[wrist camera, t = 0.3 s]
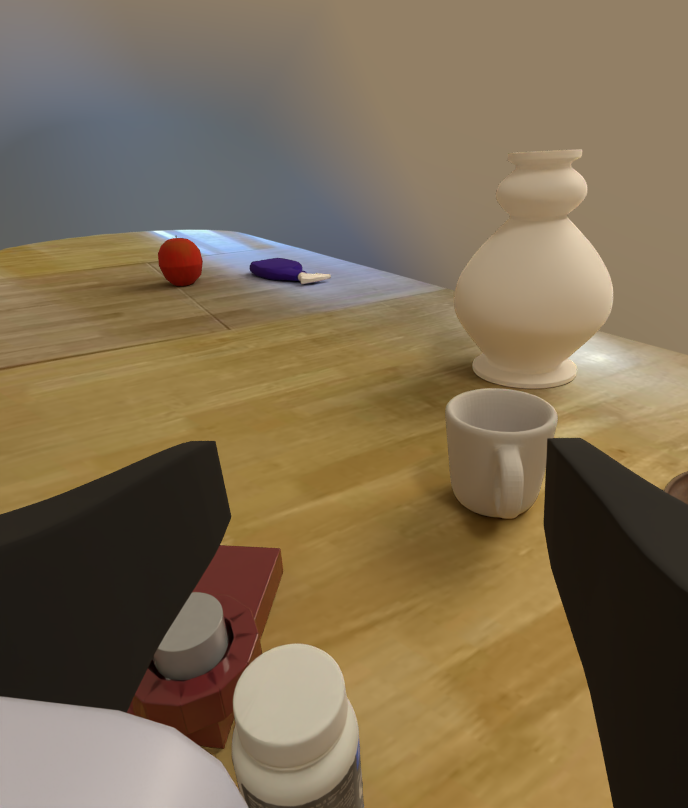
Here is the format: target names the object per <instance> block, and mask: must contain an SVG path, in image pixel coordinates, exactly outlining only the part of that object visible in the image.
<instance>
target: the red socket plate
mask: <svg viewBox="0 0 688 808" xmlns="http://www.w3.org/2000/svg"><path fill="white" fill-rule="evenodd" d="M282 574H283V565H282V557H281V549H280V548H263V547H244V546H224V545H219V548H218V550H217V552H216V554H215V556H214V557H213V559H212V561H211V563H210V564H209V566H208V567H207V569H206V571H205V572H204V574H203V576H202V577H201V579H200V581H199V582H198V584H197V585H196V587H195V589H194V590H193V592H200V593H206V594H209V595H211V596H213V597H215V598H216V599H217V600H218V601H219V602H220V604H221V606H222V609H223V614H224V619H225V624H226V629H227V634H228V647H227V650H226V652H225V655H224V656H223V658H222V659H221V661H220V662H219V663H218V664H217V665H216V666H215V667H214V668H213V669H211V670H210V671H209V672H207V673H205V674H203V675H200V676H197V677H195V678H192V679H189V680H182V681H180V680H171V679H168V678H166V677H164V676H163V675H161V674H160V673H159V672H158V671H157V669H156V667H155V664H154V661H153V658H152V660H151V662H150V665H149V667H148V669H147V671H146V673H145V675H144V677H143V679H142V681H141V683H140V685H139V687H138V689H137V691H136V693H135V695H134V697H133V700H132V702H131V704H130V706H129V709H128V711H127V713H128V714H132V715H135V716H138V717H141V718H144V719H148V720H151V721H154V722H157V723H161V724H164V725H167V726H170V727H173V728H175V729H176V730H178V731H179V732H181V733H182V734H183V735H185V736H186V737H188V738H189V739H190V740H192V741H193V742H194V743H196V744H197V745H199V746H205V747H214V748H224V746H225V743H226V740H227V737H228V734H229V731H230V728H231V725H232V722H233V719H234V712H233V696H234V691H235V688H236V684H237V682H238V680H239V678H240V676H241V675H242V673H243V672H244V670H245V669H246V668H247V667H248V666H249V665H250V663H251V662H253V661H254V660H255V659H256V658H257V657H258V656H260V655H261V654H262V650H261V644H260V639H261V636H262V633H263V630H264V627H265V624H266V621H267V618H268V615H269V612H270V609H271V606H272V603H273V600H274V597H275V594H276V591H277V589H278V586H279V583H280V580H281V577H282Z"/></svg>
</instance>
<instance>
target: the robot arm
mask: <svg viewBox="0 0 688 808" xmlns="http://www.w3.org/2000/svg"><path fill="white" fill-rule="evenodd" d="M230 519H231V513H230V508H229V503H228V499H227V494H226V489H225V485H224V480H223V475H222V470H221V466H220V461H219V456H218V452H217V447H216V442H215V441H190V442H186V443H182V444H179V445H176V446H174V447H171V448H168V449H166V450H163V451H161V452H159V453H156V454H154V455H152V456H149V457H147V458H145V459H142V460H140V461H138V462H136V463H133V464H131V465H129V466H127V467H124V468H122V469H120V470H118V471H115V472H113V473H111V474H109V475H106V476H104V477H101V478H99V479H96V480H94V481H92V482H89V483H87V484H84V485H82V486H80V487H77V488H75V489H72V490H70V491H68V492H65V493H62V494H60V495H57V496H55V497H52V498H49V499H46V500H43V501H41V502H38V503H35V504H32V505H29V506H26V507H23V508H20V509H17V510H14V511H11V512H7V513H4V514H1V515H0V808H248V806H247V804H246V802H245V800H244V798H243V797H242V795H241V793H240V792H239V790H238V788H237V787H236V785H235V783H234V782H233V780H232V779H231V777H230V775H229V774H228V772H227V770H226V769H225V767H224V765H223V764H222V762H221V761H219V760H218V759H216V758H215V757H214V756H212V755H211V754H210V753H208V752H207V751H205V750H204V749H203V748H201V747H200V746H199V745H197V744H196V743H194V742H193V741H192V740H190V739H189V738H188V737H186V736H185V735H183V734H182V733H181V732H179V731H178V730H176V729H175V728H173V727H170V726H167V725H164V724H161V723H157V722H154V721H151V720H148V719H144V718H141V717H138V716H135V715H132V714H128V713H127V711H128V709H129V706H130V704H131V702H132V700H133V697H134V695H135V693H136V691H137V689H138V687H139V685H140V683H141V681H142V679H143V677H144V675H145V673H146V671H147V669H148V667H149V665H150V662H151V660H152V658H153V656H154V654H155V652H156V651H157V649H158V647H159V645H160V644H161V642H162V640H163V638H164V637H165V635H166V633H167V632H168V630H169V628H170V627H171V625H172V624H173V622H174V620H175V619H176V617H177V616H178V614H179V612H180V611H181V609H182V608H183V606H184V604H185V603H186V601H187V600H188V598H189V596H190V595H191V593H192V592H193V590H194V589H195V587H196V585H197V584H198V582H199V581H200V579H201V577H202V576H203V574H204V572H205V571H206V569H207V567H208V566H209V564H210V563H211V561H212V559H213V557H214V556H215V554H216V552H217V550H218V548H219V545H220V543H221V541H222V539H223V537H224V534H225V532H226V529H227V527H228V524H229V522H230ZM544 530H545V536H546V542H547V548H548V553H549V559H550V564H551V569H552V572H553V575H554V579H555V582H556V585H557V588H558V591H559V594H560V597H561V601H562V604H563V607H564V610H565V613H566V616H567V619H568V622H569V625H570V628H571V631H572V634H573V637H574V641H575V644H576V647H577V650H578V653H579V656H580V659H581V662H582V665H583V668H584V672H585V676H586V679H587V683H588V687H589V690H590V694H591V699H592V704H593V709H594V713H595V718H596V723H597V727H598V732H599V737H600V742H601V746H602V751H603V756H604V761H605V766H606V771H607V776H608V782H609V787H610V792H611V797H612V802H613V807H614V808H688V504H686V503H684V502H683V501H681V500H679V499H677V498H675V497H674V496H672V495H670V494H668V493H666V492H665V491H663V490H661V489H659V488H658V487H656V486H655V485H653V484H651V483H650V482H648V481H646V480H645V479H643V478H641V477H640V476H638V475H637V474H635V473H634V472H632V471H631V470H629V469H627V468H626V467H624V466H623V465H621V464H620V463H618V462H617V461H615V460H614V459H612V458H611V457H609V456H608V455H606V454H605V453H603V452H602V451H601V450H599V449H598V448H596V447H594V446H593V445H591V444H590V443H588V442H587V441H585V440H583V439H581V438H547V457H546V481H545V505H544Z"/></svg>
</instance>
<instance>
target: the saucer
mask: <svg viewBox="0 0 688 808" xmlns="http://www.w3.org/2000/svg"><path fill="white" fill-rule="evenodd" d="M664 491H665V492H666V493H668V494H670V495H672V496H674V497H675V498H677V499H679V500H681V501H683V502H684V503H686V504H688V471H687V472H684V473H682V474H680V475H678V476H676V477H675V478H673V479H672V480H671V481H670V482H669V483H668V484H667V486H666V487H665V489H664Z"/></svg>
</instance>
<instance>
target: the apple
mask: <svg viewBox="0 0 688 808" xmlns="http://www.w3.org/2000/svg"><path fill="white" fill-rule="evenodd" d="M158 259H159V267H160V269H161V271H162V273H163V275H164V276H165V278H166V280H168V281H169V282H170V283H172V284H173V285H175V286H187V285H190V284H193V283H194V282H195V281H196V280H197V279H198V278H199V277H200V275H201V271H202V262H203V261H202V257H201V253H200V250H199V249H198V247H197V246H196V245H195V244H194V243H193V242H191V241H190V240H188V239H184V238H177V237H176V238H173V239H169V240H167V241H165V242H164V244H163V245H162V246H161V248H160V250H159V252H158Z"/></svg>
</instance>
